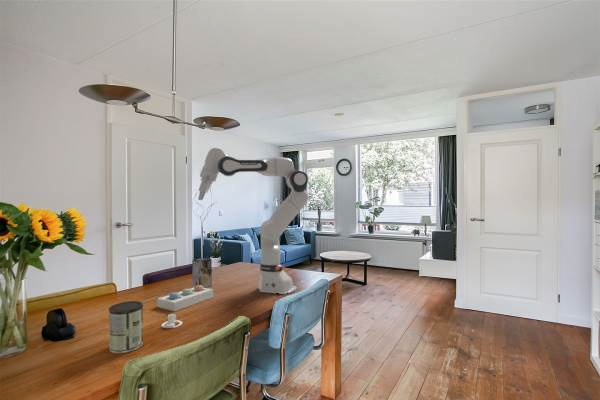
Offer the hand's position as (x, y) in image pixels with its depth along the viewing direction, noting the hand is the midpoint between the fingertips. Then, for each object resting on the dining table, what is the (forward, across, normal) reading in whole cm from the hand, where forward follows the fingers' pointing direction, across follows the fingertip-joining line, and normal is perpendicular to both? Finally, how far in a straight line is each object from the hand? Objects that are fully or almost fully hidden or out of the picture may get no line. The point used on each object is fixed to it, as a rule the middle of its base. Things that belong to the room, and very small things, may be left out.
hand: (200, 199), depth 171 cm
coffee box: (+49, +9, -16) cm, 52 cm away
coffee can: (+53, -62, +3) cm, 82 cm away
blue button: (+48, -22, -5) cm, 53 cm away
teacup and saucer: (+51, -46, -6) cm, 69 cm away
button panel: (+50, -17, -11) cm, 53 cm away
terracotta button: (+45, -11, -15) cm, 49 cm away
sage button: (+47, -17, -10) cm, 51 cm away
